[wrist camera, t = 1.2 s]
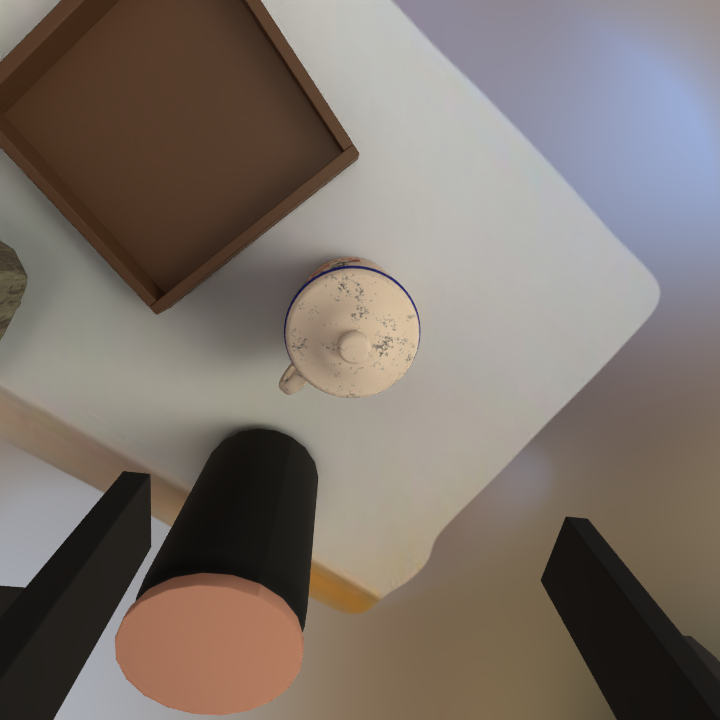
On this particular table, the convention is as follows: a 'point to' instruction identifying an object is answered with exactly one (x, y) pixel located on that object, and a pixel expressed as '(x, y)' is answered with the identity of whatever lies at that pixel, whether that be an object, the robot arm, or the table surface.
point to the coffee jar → (228, 583)
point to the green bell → (10, 285)
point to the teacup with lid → (349, 330)
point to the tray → (167, 132)
